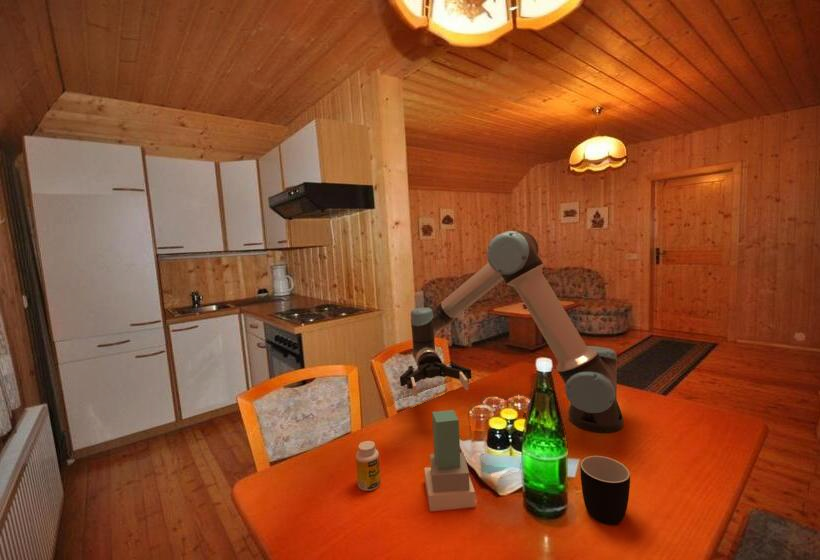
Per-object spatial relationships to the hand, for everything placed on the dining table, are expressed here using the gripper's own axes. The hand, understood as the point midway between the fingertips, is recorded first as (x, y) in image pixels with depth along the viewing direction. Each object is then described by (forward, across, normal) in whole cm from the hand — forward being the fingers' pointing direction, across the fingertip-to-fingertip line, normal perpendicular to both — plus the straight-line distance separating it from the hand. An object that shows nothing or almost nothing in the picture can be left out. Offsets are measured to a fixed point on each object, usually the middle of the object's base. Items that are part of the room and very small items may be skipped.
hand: (441, 388), depth 96 cm
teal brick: (+12, +2, -12) cm, 18 cm away
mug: (+23, -28, -21) cm, 42 cm away
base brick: (+12, +2, -20) cm, 24 cm away
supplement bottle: (+6, +20, -20) cm, 29 cm away
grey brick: (+13, +2, -16) cm, 21 cm away
